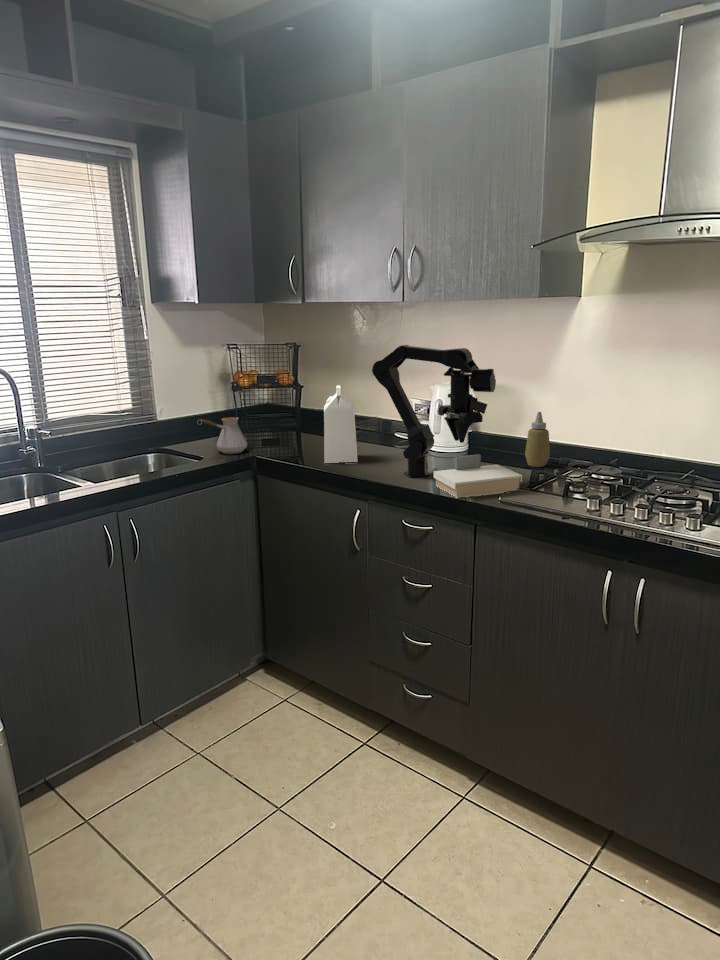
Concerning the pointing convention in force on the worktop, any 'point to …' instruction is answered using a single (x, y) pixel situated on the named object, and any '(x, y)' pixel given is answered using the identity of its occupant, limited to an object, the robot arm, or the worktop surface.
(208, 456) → the worktop surface
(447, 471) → the lid
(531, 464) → the squeeze bottle
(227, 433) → the coffee pot
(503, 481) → the mailer box
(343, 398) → the milk
